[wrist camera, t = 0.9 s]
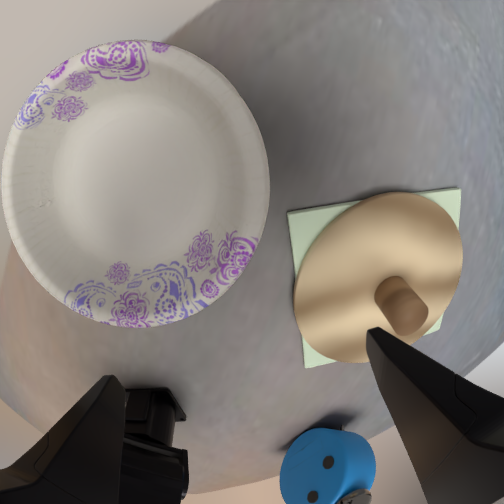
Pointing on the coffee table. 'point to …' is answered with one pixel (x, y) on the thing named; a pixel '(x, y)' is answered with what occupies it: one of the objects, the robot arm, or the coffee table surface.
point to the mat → (316, 219)
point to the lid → (377, 274)
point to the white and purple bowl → (135, 183)
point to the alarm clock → (328, 468)
